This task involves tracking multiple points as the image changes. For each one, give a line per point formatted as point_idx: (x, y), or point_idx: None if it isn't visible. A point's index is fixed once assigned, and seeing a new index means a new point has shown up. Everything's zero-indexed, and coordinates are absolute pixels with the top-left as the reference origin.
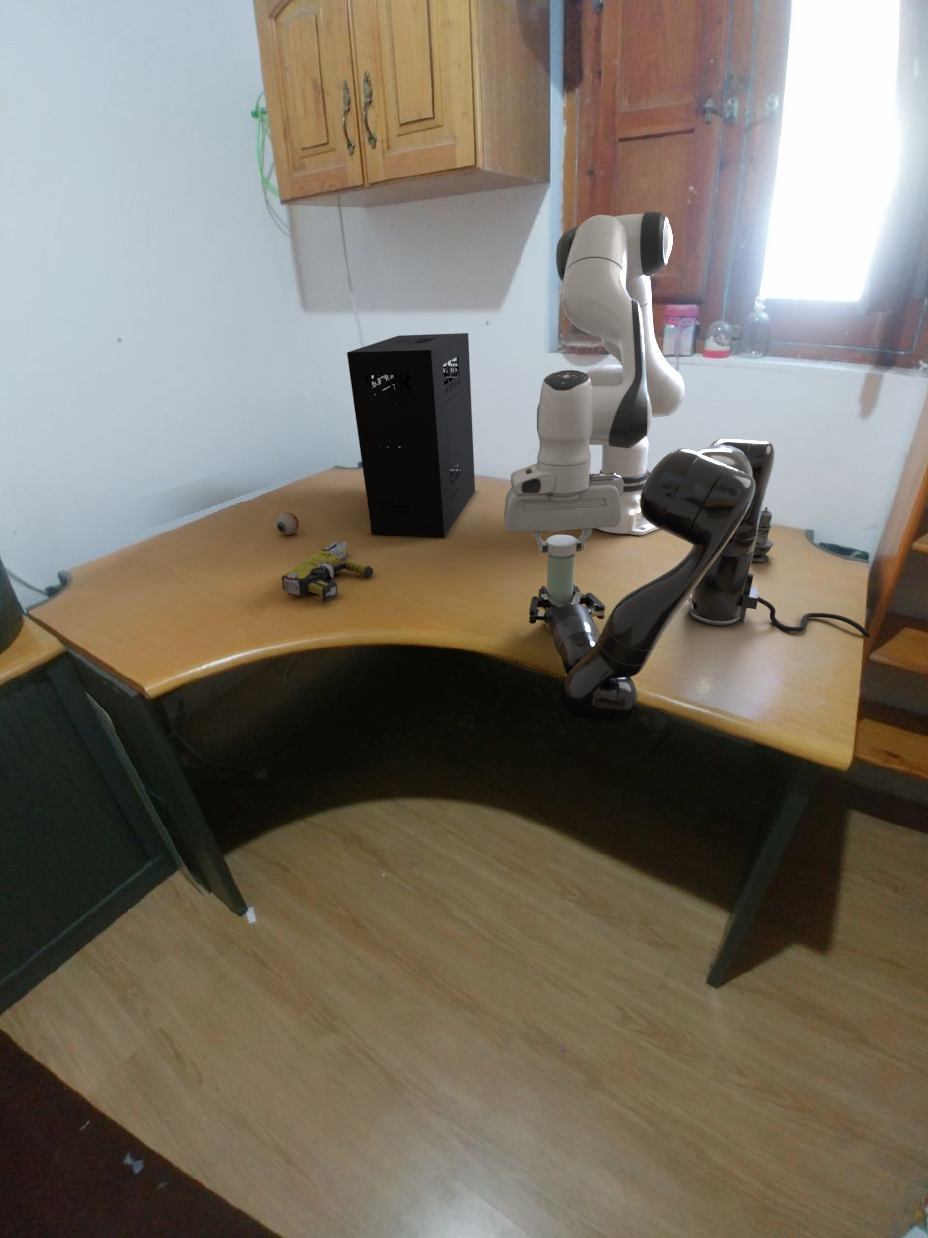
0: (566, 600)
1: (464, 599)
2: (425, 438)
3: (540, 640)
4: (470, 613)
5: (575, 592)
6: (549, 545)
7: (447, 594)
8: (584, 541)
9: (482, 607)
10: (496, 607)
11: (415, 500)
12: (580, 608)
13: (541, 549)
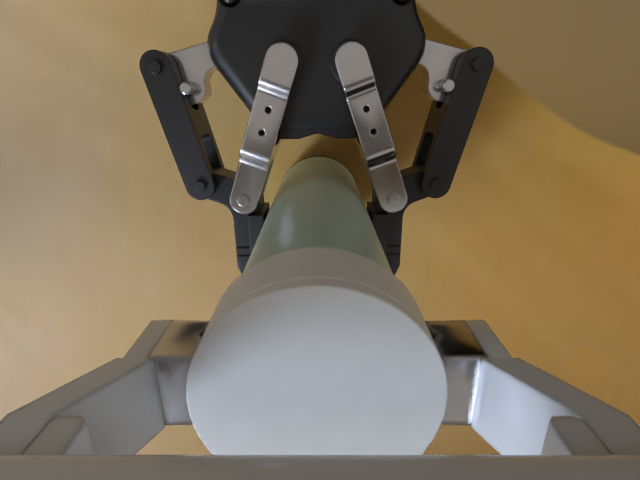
0: (300, 181)
1: (562, 367)
2: None
3: (393, 110)
4: (566, 292)
5: (256, 215)
6: (434, 343)
7: (601, 397)
8: (120, 363)
9: (523, 320)
10: (482, 316)
11: None
12: None
13: (483, 334)
